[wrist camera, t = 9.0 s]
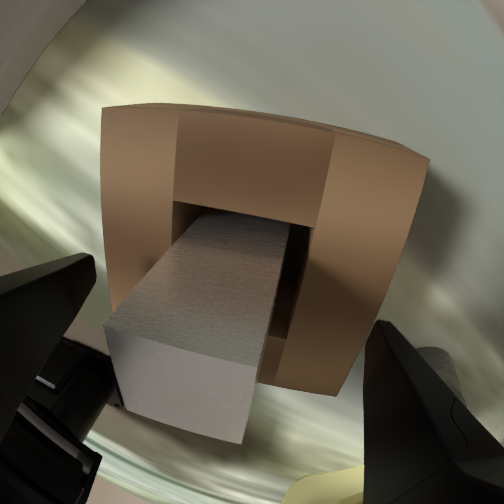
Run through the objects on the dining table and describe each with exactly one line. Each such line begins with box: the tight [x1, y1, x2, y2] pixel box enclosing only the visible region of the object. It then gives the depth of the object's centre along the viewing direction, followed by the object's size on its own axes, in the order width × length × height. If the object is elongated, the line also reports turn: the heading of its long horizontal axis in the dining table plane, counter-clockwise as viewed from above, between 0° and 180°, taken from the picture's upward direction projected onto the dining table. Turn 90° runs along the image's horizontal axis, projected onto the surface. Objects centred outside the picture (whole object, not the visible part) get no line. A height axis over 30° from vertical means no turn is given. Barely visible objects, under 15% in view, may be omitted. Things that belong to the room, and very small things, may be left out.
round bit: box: [416, 347, 467, 408], centre depth 13 cm, size 5×5×6 cm
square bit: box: [103, 207, 291, 444], centre depth 10 cm, size 3×3×9 cm
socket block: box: [100, 103, 430, 397], centre depth 12 cm, size 10×10×4 cm
